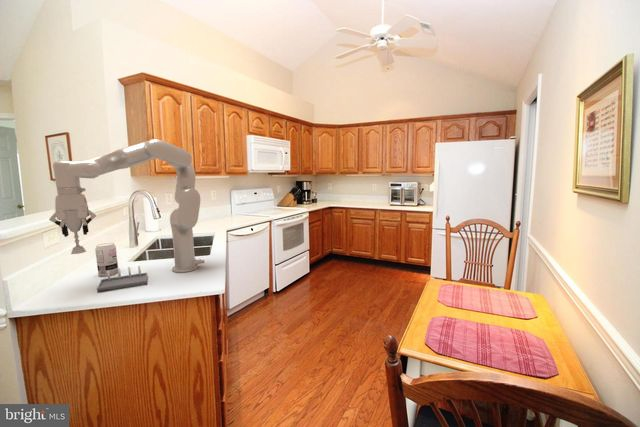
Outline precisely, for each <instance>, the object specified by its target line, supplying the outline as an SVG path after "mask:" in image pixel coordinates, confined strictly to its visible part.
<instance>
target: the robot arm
mask: <svg viewBox="0 0 640 427" xmlns="http://www.w3.org/2000/svg"><path fill="white" fill-rule="evenodd" d="M156 159H158V160H161V161H162V162H163V161H164V162H165V163H168V164H169V165H170V166H171V167H172V168H173V169H174V170H175V173H176V185H175V192H174V200H175V202H176V203H177V204H178V207H177V208H175V209H174V210H173V211H171V213H170V216H169V224H170V227H171V228H170V229H171V234H172V246H173V247H172V248H173V257H174V266H172V267H171V271H172V272H173V273H188V272H189V273H190V272H192V271H195V270H197V269H198V268H199V266H200V265H199V264H205V262H206V261H205V259H202V258H201V259H200V258H199V259H196V257H195V245H194V233H193V228H194V227H195V226H196V225H197V223H198V220H199V216H200V205H201V194H200V193H199V191H198V190H197V189H195V187H196V171H195V168H194V166H193V164H192V162H193V157H192V155H191V153H190V152H189V151H188V150H185V149H183V148H182V147H178V146H176V145H174V144H171V143H169V142H167V141H165V140H162V139H158V138H152V139H150V140H145V141H143V142H139V143H136V144H133V145H129V146H126V147H122V148H119V149H117V150H115V151H112V152H110V153H107V154H104V155H101V156H97V157H95V158H91V159H86V160H80V161H79V160H78V161H77V160H76V161H72V160H57V161H54V162H53V164H52V168H53V174H54V181H55V185H56V186H55V188H56V193H57V195H56V196H55V200H54V206H55V212H54V213H53V214H52V215H51V216H50V217H49V221H50V222H52V223H54V224H55V225H57V226H59V227H60V228H61V233H62V235H63V236H64V237H65V238H67V237H69V228H68V227H67V226H66V224H65V213H64V212H63V211H75V210H79V211H78V212H77V214H78V217H79V218H80V219H81V221H82V222H83V223H82V226H81V228H82V232H83V233H82V234H83V235H84V236H86V235H88V233H89V226H88V224H89V223H91V222H92V221H93V219H95V218H96V217H97V215H96V214H95V213H93V212H92V211H91V210H90V209H89V205H88V201H87V198H86V195H85V194H84V192H86V191H87V190H86V188H85V187H84V188H83V187H81V180H80V179H96V178H98V177H99V176H102V175H105V174H108V173H111V172H115V171H117V170H124V169H128V168H133V167H135V166H138V165H141V164H145V163H147V162H150V161H153V160H156ZM89 216H90V217H89ZM88 217H89V218H88ZM87 218H88V219H87Z"/></svg>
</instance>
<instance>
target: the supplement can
mask: <svg viewBox="0 0 640 427" xmlns="http://www.w3.org/2000/svg"><path fill="white" fill-rule="evenodd" d="M95 258H96V265H97V272H98V276H100V277H108V274H107V270H109V272H110V277H111V276H115V275H116V274H117V275H118V269H119V263H118V254H117V246H116V245H115V243H114V242H106V243H100V244H99V243H98V244H96V247H95Z"/></svg>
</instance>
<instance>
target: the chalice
mask: <svg viewBox="0 0 640 427" xmlns="http://www.w3.org/2000/svg"><path fill="white" fill-rule="evenodd" d="M78 211H79V210H75V211H63V212H64V213H65V224H66V226H67V228H68V231H70V232H72V233H74V236H73V238H74V243H75V246H74V247H72V250H71V253H70V255H79V254H83V253H86V252H87V250H86V249H85V248H84V246H83V245H82V246H81V245H80V240H79V237H80V236H79V234H78V232H79V231H81V229H82V226H83V222H82V221H81V219H80V218H79V217H78V214H77V212H78Z"/></svg>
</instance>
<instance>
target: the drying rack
mask: <svg viewBox="0 0 640 427" xmlns="http://www.w3.org/2000/svg"><path fill="white" fill-rule="evenodd" d="M137 267H138V268H137V269H138V273H134V274H131V272H132V271H131V266H128V267H127V270H128V275H122V276H121V268H118V272H117V275H118V276H116V277H115V276H114V277H111V276H110V272H109V270H107V274H108V276H107V278H102V279H100V281H99V284H98V285H97V286H96V292H97V294H100V293H106V292H110V291H111V292H112V291H116V290H117V291H118V290H123V289H130V288H134V287H136V288H137V287H141V286H147V285H148V278H149V277H148V272H142V271H141V266H140V265H138V266H137Z"/></svg>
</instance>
